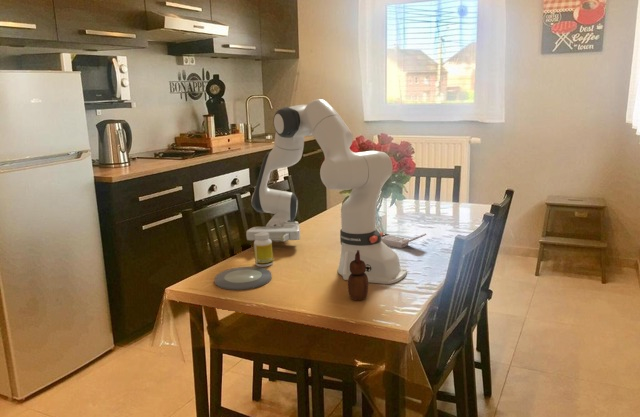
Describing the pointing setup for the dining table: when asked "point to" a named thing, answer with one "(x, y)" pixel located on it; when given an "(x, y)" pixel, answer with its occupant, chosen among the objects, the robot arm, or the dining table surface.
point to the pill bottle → (263, 250)
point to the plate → (243, 278)
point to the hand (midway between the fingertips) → (269, 239)
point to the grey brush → (397, 240)
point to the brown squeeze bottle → (358, 279)
